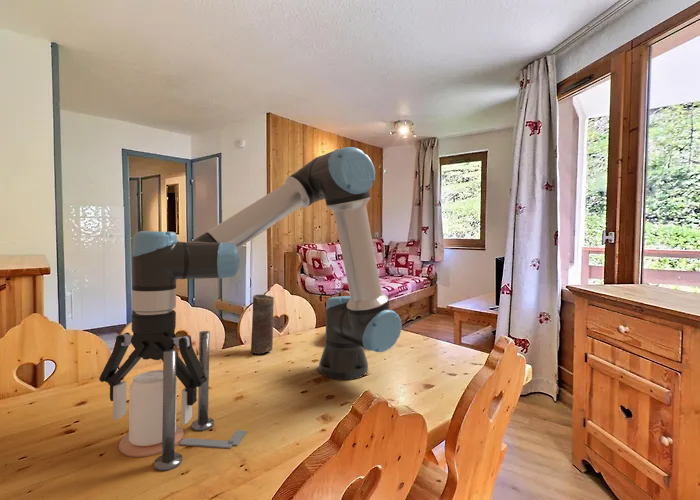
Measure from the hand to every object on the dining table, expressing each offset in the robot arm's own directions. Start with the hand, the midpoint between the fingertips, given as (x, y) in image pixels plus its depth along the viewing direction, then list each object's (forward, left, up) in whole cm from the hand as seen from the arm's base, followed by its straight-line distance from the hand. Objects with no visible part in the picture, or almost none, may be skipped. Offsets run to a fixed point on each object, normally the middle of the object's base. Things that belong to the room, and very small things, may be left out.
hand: (153, 418), depth 70 cm
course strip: (-11, -2, -4) cm, 12 cm away
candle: (-4, -57, -4) cm, 57 cm away
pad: (0, 0, -4) cm, 4 cm away
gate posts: (-7, 0, -4) cm, 8 cm away
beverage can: (0, 0, -4) cm, 4 cm away
